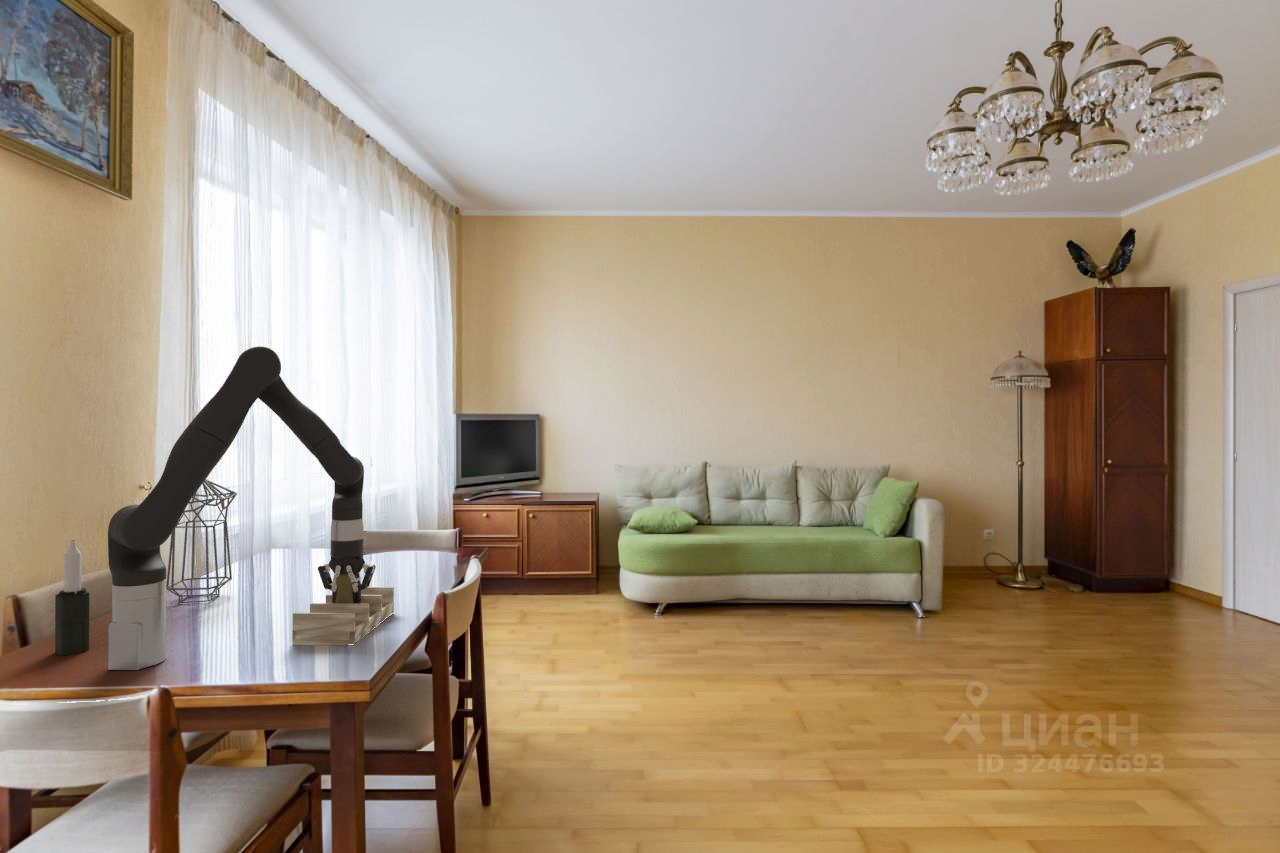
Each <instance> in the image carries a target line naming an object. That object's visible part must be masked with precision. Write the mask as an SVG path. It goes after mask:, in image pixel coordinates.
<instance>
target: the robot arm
mask: <svg viewBox="0 0 1280 853" xmlns="http://www.w3.org/2000/svg"><path fill="white" fill-rule="evenodd" d="M281 371H282V362H281V360H280V357H279V355H278V353H276V352H275V351H274V350H273V349H271V348H269V347H266V346H262V345H261V346H253V347H250V348H248V349H245V350H244V351H243V352H242V353H241V354H240V355H239V357H238V358H237V360H236V362H235V364H234V366H233V367H232V369H231V370H230V373H229V374H228V376H227V378H226V379H225V381H224V382H223V384H221V387H220V388H219V389H218V391H217V392H216V393H215V394H214V395H213V396H212V397H211V399H210V400H209V401H208V402H207V403H206V404H205V405H204V406H203V407H202V408H201V410H200V411H199V412H197V415H195V417H194V418H193V419H192V421H191V422H190V423H189V424H188V425H187V427H186V428H185V429H183V430H184V431H183V432H182V433H181V434H180V436H179V437H178V439H177V440H176V441H175V443H174V444H173V447H172V448H171V449H170V450H171V451H170V453H169V455H168V458H167V460H166V463H165V465H164V466H165V467H164V469H163V471H162V474H161V476H160V478H159V480H158V481H157V483H156V484H155V486H154V487H153V489H152V490H151V491H150V492H149V494H148V495H147V496H146V497H145V498H144V500H142V502H141V503H140V504H136V503H135V504H129V505H126V506H123V507H122V508H120V509H118V510H117V511H116V512H115V513H114V514H113V515H112V516H111V518H110V520H109V523H108V528H107V546H108V547H107V553H108V555H107V556H108V567H109V572H110V574H111V594H112V595H111V623H109V624H108V646H107V647H108V650H107V651H108V659H107V660H108V661H107V662H108V663H107V664H108V666H107V668H108V671H111V670H112V671H139V670H141V669H144V668H148V667H151V666H155V665H158V664H160V663H162V662H164V661H165V660H167V589H166V584H167V566H166V564H165V563H164V561H163V558H162V554H161V546H162V545H163V544H164V543H165V542H167V540H168V539H169V538H170V537H171V533H172V532H173V530H174V528H175V526H176V525H177V523H178V521H179V519H180V518H181V516H182V514H183V512H184V511H185V510H186V509H187V506H188V505H189V504H188V503H189V502H191V501H192V497H193V495H194V494H195V493H196V491H197V492H198V490H199V489H201V488H200V487H201V486H203V482H204V481H205V480H206V479H207V478H208V477H209V475H210V474H211V473H212V471H213V469H215V467H216V466H217V465H218V463H219V462H220V460H222V458H223V456H224V455H225V454H226V452H228V449H229V448H230V446H231V445H232V444H233V441H235V439H236V438H237V435H238V433H239V431H240V430H241V427H242V426H243V424H244V422H245V419H246V417H247V415H248V413H249V411H250V409H251V407H252V406H253V404H254V403H255V402H256V401H257V399H258V400H260V401H261V402H262V403H264V405H266V406H267V407H268V408H269V409H270V410H271V411H272V412H273V413H274V414H275V415H276V416H277V417H279V419H280V420H281V421H282V422H283V423H284V424H285V425H286V426H287V427H288V429H290V431H291V432H292V433H293V434H294V436H295V437H297V439H298V440H299V441H300V442H301V443H302V444H303V446H305V448H307V450H308V451H309V452H310V454H312V455H313V457H315V458H316V459H317V460H318V462H319V464H320V465H321V466H322V469H323V470H324V471H325V472H326V473H327V475H328V476H329V477H330V478H331V480H332V481H334V493H333V499H332V501H331V502H332V503H331V524H330V554H329V556H330V560H329V562H328V563H324V564H322V565H319V566H318V567H317V571H318V573H319V576H320V579H321V583H322V585H323V588H324V589H325V590H329V591H331V594H332V603H335V602H336V596H337V587H338V586H337V585H336V578H337V577H338V576H339V575H340V574H348V575H349V577H350V579H351V583H353V585H352V587H353V591H354V592H352V597H353V603H360V602H361V590H364V589H365V588H367V587H370V584H371V582H372V578H373V576H374V573H375V570H376V568H377V566H376V565H375V564H372V565H371V564H368V563H366V561H365V559H364V536H365V532H364V520H363V510H364V509H363V508H364V507H363V506H364V505H363V489H364V481H365V480H364V479H365V478H364V477H365V469H364V465H363V463H362V461H361V460H360V459H359V458H358V457H355V456H352V454H350V453H349V451H348V450H347V449H346V448H345V447H344V446H343V445H342V443H341V441H340V439H339V438H338V436H337V434H336V433H335V432H334V431H333V430H332V429H331V427H330V426H329V425H328V424H327V423H326V422H325V421H324V420H323V419H322V418H321V417H320V416H319V415H318V414H317V413H316V412H314V411H313V409H311V408H309V407H308V406H307V405H306V404H305V403H303V402H302V401H301V400H300V399H299V398H298V397H297V396H295V394H293V392H292V391H291V390H290V389H289V388H288V386H287V384H286V383H285V382H284V380H283V378H282V377H281ZM204 483H205V482H204ZM196 494H197V493H196ZM177 526H178V525H177ZM175 529H176V528H175ZM362 570H363V572H364V576H363V578H361V574H360V572H361V571H362ZM330 571H332V572H333V579H332V576H331V573H330ZM355 576H358V578H355ZM361 580H362V582H361Z"/></svg>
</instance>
